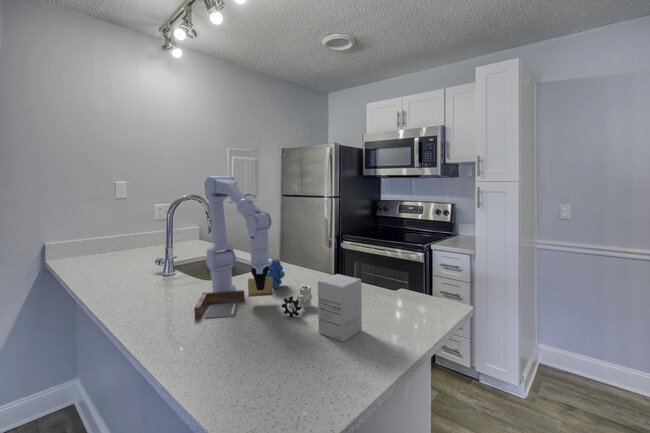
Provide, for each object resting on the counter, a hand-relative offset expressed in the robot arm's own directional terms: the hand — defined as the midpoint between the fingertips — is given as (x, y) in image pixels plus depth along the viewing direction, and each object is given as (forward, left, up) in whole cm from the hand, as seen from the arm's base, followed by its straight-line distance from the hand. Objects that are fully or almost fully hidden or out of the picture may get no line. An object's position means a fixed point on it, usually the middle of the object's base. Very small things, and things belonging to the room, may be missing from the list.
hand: (260, 289), depth 110 cm
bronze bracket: (-2, 0, -2) cm, 3 cm away
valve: (+6, +13, -6) cm, 15 cm away
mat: (+1, -12, -6) cm, 14 cm away
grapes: (-18, +6, -6) cm, 20 cm away
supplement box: (+23, +22, -6) cm, 33 cm away
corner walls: (-1, -13, -6) cm, 14 cm away
